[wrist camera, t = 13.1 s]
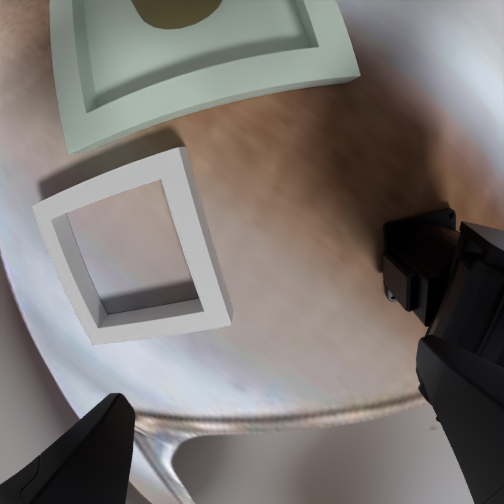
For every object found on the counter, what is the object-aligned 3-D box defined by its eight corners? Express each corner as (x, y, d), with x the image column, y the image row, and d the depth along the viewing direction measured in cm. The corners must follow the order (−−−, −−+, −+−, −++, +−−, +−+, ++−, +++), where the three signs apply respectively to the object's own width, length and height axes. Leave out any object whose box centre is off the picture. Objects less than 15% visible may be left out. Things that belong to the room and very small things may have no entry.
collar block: (185, 146, 17) (178, 147, 16) (233, 309, 22) (231, 325, 20) (47, 199, 18) (31, 206, 16) (101, 331, 22) (92, 344, 21)
